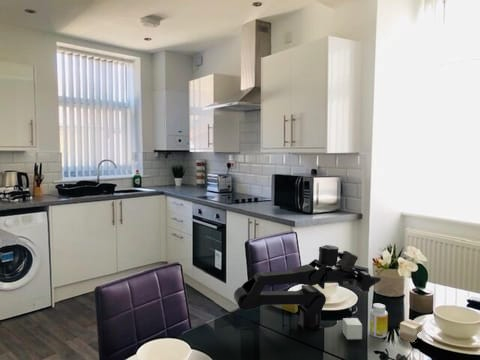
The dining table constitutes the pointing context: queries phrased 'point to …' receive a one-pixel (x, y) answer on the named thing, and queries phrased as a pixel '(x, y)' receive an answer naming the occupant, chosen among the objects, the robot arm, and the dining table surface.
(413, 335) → the birch block
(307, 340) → the dining table surface
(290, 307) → the medication box
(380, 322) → the supplement bottle
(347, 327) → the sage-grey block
